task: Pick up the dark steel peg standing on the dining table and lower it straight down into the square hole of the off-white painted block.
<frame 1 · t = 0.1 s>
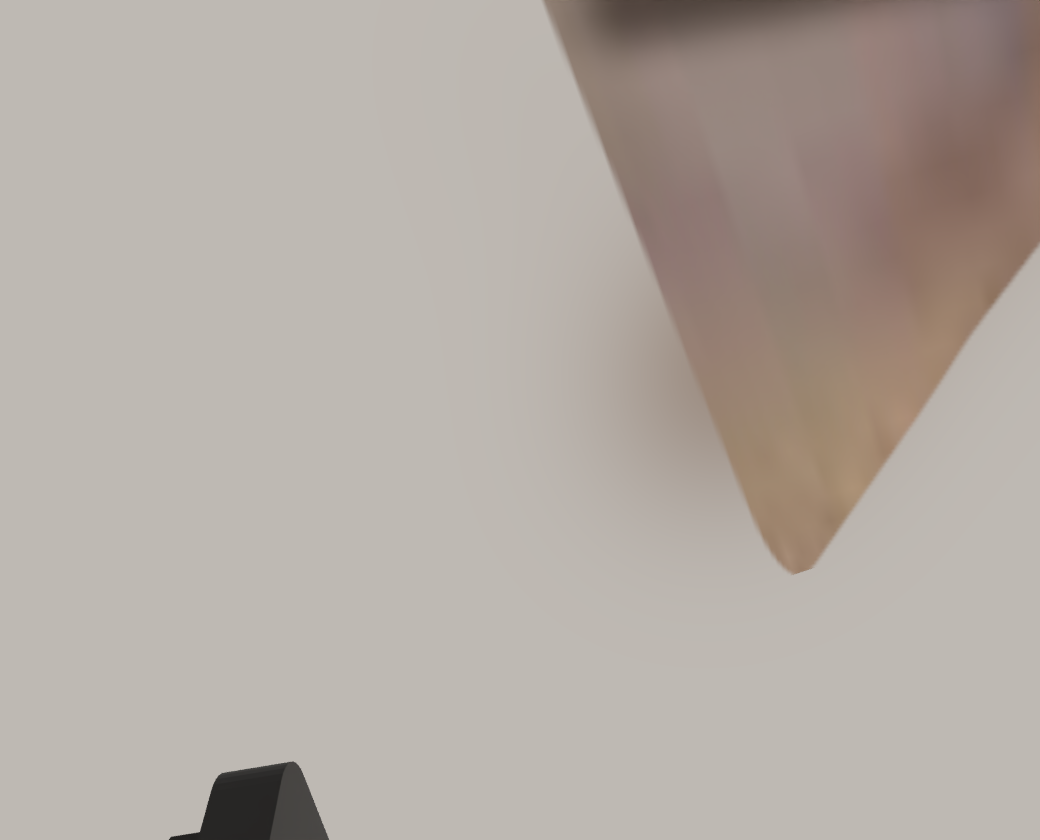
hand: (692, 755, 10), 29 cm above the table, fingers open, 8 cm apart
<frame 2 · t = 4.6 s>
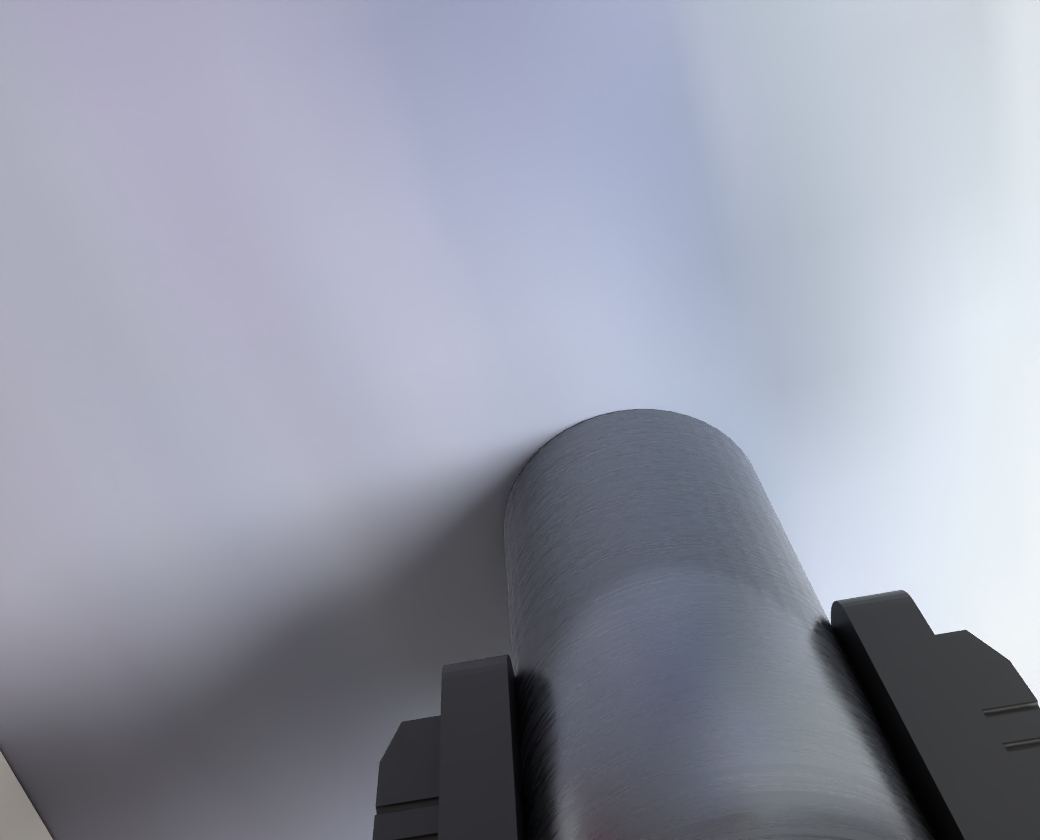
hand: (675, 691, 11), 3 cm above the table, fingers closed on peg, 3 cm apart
peg: (633, 524, 14), on the table, touching gripper
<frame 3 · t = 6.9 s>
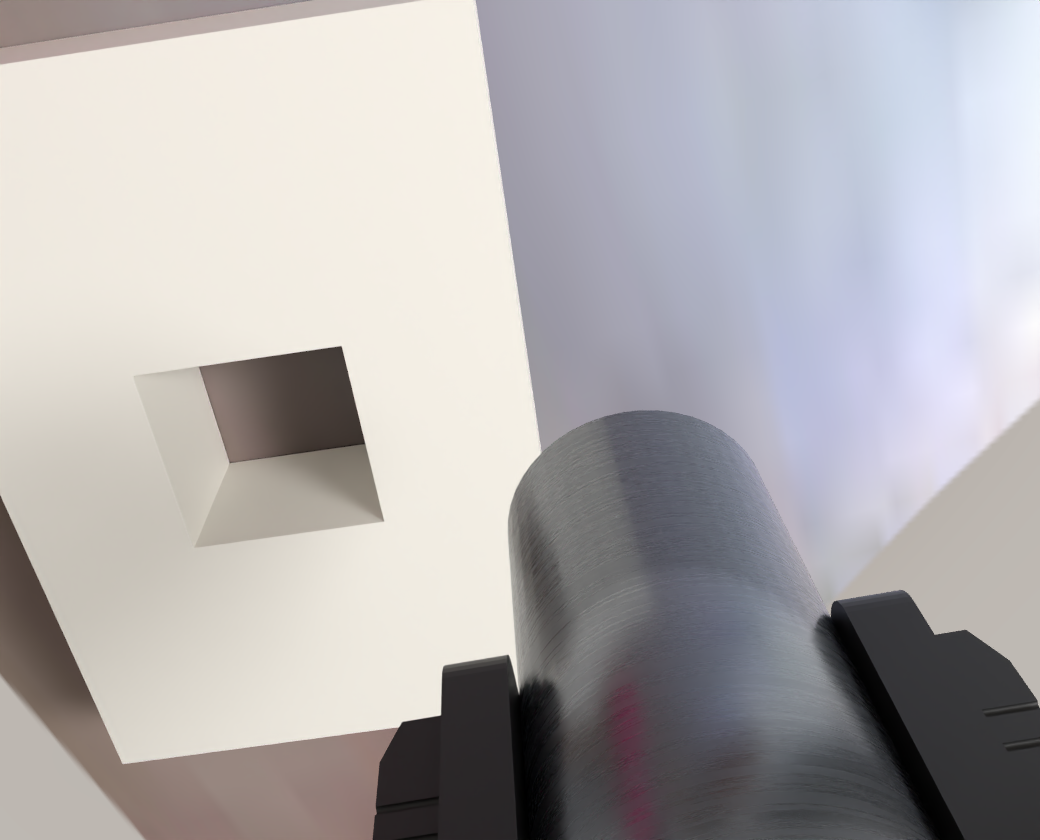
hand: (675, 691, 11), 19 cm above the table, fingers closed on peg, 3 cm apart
peg: (637, 524, 14), point 16 cm above the table, touching gripper
hole block: (291, 376, 30), on the table
when the fingers open (6 cm above the table, at t = 9.6 s): peg drops 2 cm, resting in hole block.
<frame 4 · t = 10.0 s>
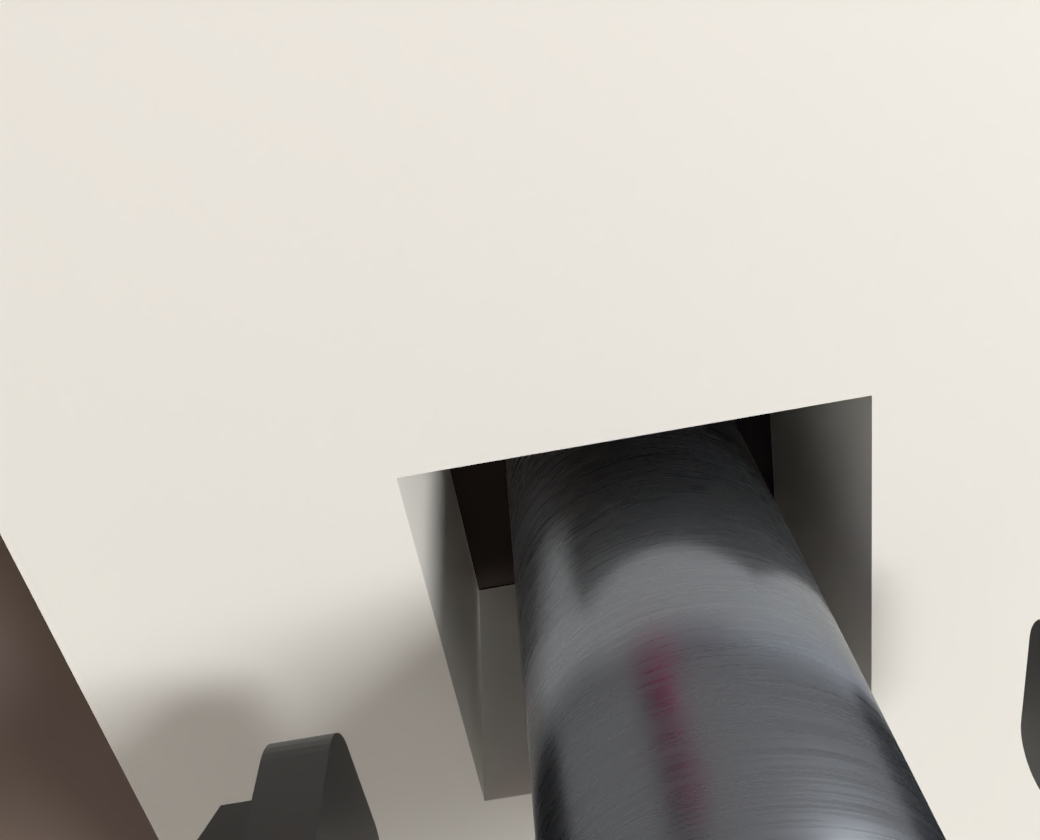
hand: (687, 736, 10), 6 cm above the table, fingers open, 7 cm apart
peg: (615, 438, 16), resting in hole block
hole block: (608, 436, 16), on the table
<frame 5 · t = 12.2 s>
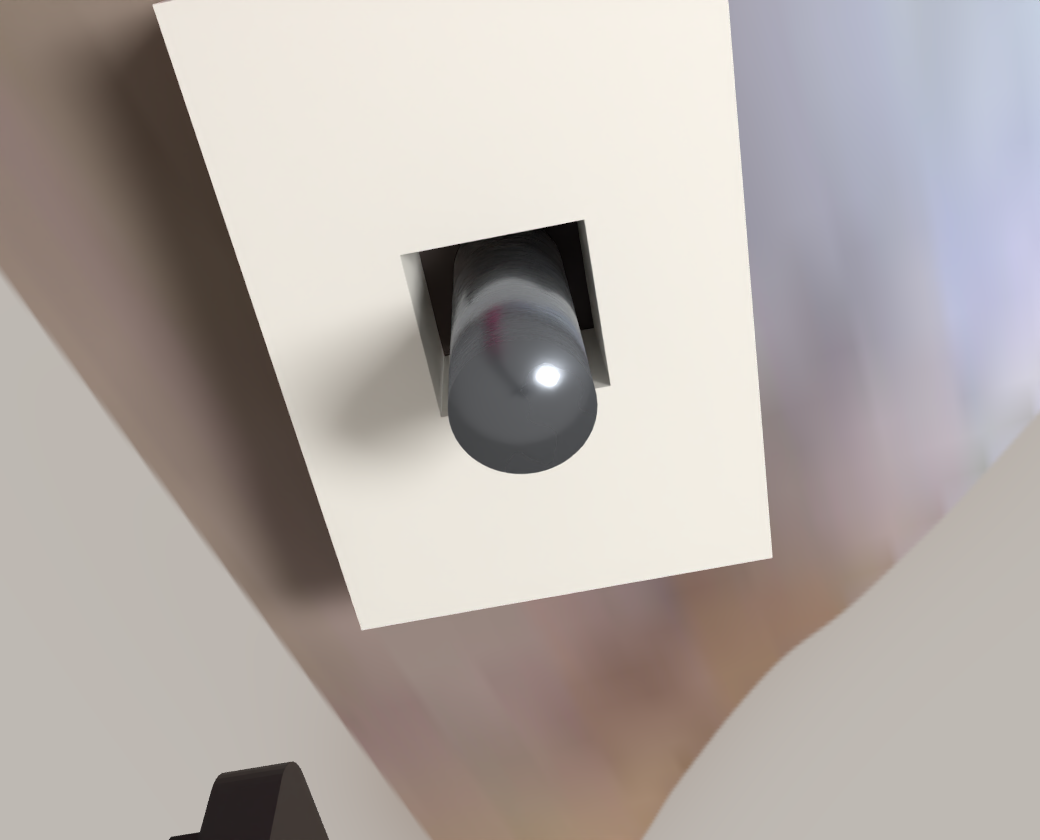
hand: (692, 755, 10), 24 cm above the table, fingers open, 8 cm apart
peg: (508, 271, 33), resting in hole block
hole block: (504, 270, 33), on the table
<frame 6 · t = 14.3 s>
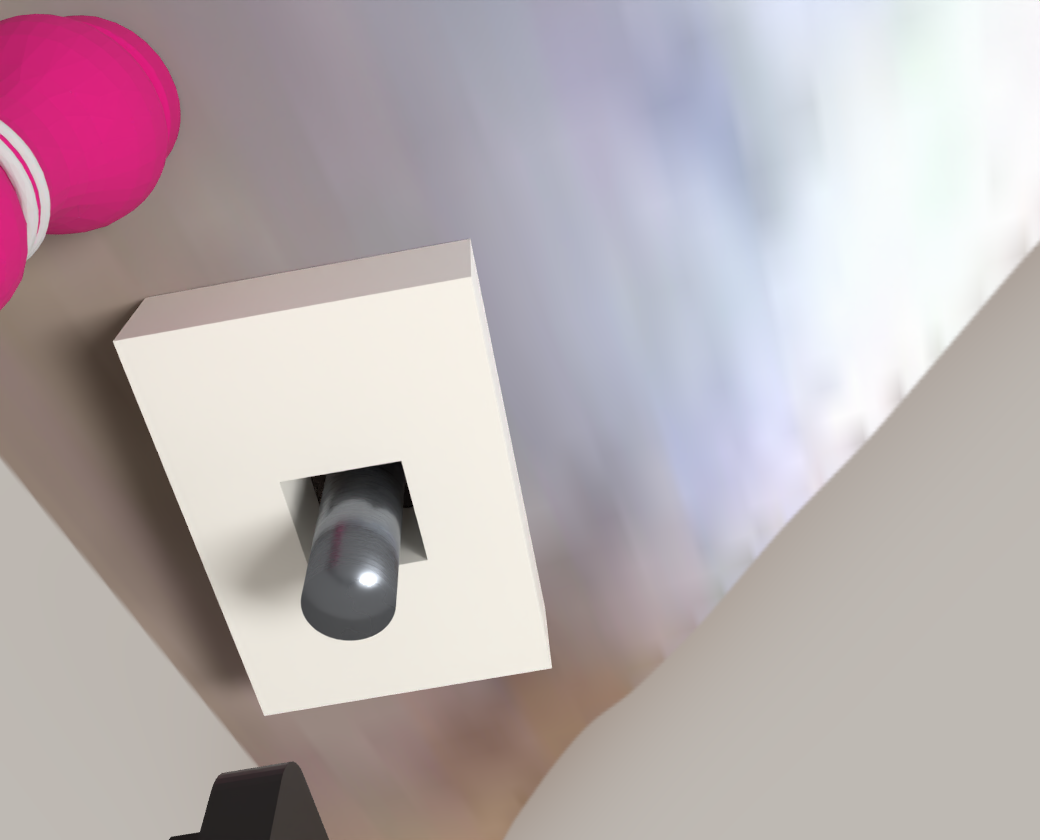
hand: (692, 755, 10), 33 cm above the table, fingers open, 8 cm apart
peg: (367, 468, 47), resting in hole block
hole block: (364, 467, 47), on the table
pepper mill: (99, 100, 39), on the table
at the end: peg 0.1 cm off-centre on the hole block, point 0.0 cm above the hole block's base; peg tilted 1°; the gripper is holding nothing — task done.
